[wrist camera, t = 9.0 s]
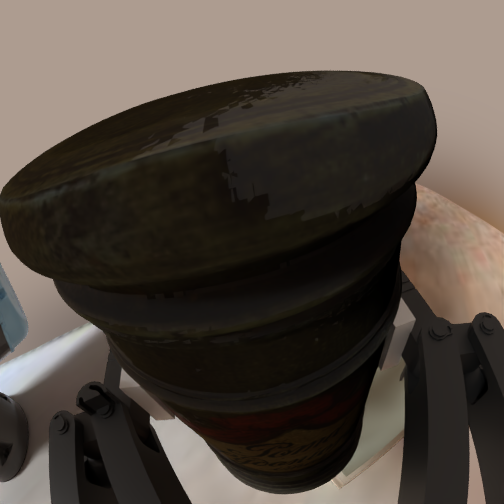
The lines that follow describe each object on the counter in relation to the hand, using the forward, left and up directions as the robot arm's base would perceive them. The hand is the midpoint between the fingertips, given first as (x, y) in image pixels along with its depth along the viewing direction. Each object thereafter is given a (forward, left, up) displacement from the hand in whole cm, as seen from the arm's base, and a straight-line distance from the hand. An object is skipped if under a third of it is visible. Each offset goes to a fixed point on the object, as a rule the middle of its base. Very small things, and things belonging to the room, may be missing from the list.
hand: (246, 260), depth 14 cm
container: (+5, -2, -10) cm, 11 cm away
